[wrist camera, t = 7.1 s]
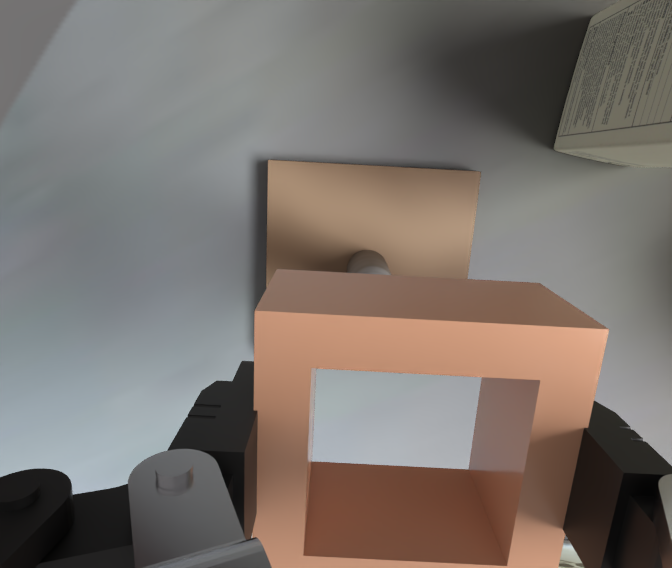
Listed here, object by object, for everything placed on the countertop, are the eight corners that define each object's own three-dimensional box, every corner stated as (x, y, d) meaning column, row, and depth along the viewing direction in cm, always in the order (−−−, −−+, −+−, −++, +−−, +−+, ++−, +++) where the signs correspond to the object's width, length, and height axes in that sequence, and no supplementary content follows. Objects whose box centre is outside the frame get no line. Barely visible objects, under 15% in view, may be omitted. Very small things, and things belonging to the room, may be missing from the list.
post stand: (270, 159, 24) (237, 164, 16) (475, 171, 24) (539, 181, 16) (267, 349, 26) (237, 432, 19) (451, 359, 27) (497, 445, 19)
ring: (276, 269, 11) (254, 310, 8) (539, 283, 11) (609, 329, 8) (272, 492, 13) (251, 593, 10) (502, 504, 13) (549, 609, 10)
